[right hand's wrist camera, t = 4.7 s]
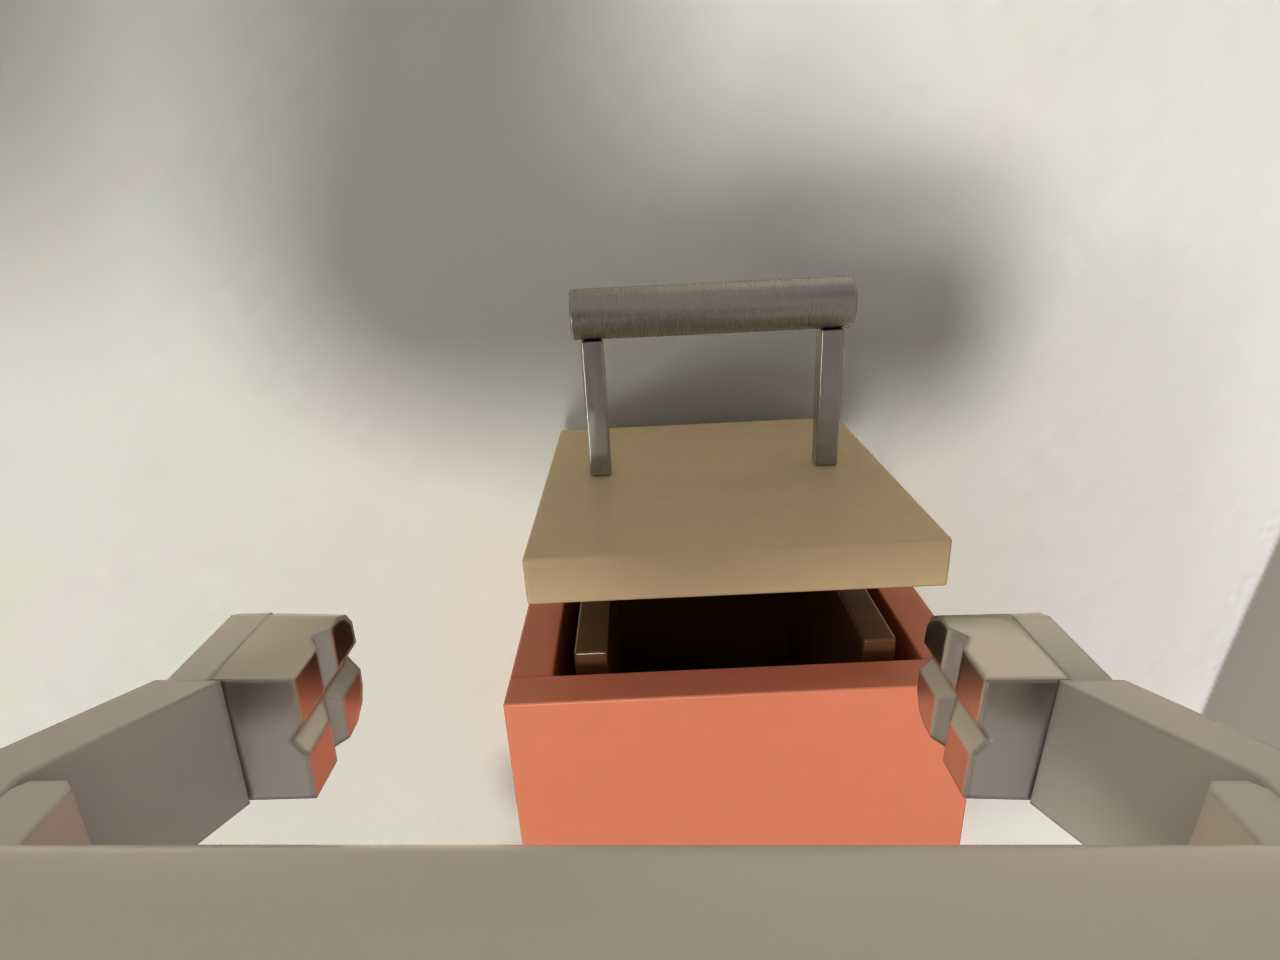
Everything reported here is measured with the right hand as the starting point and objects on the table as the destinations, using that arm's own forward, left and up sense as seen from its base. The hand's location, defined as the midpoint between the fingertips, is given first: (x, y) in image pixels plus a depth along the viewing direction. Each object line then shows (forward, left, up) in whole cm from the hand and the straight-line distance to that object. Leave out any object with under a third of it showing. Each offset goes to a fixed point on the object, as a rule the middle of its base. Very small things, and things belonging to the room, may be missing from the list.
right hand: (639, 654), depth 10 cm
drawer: (+7, -2, -15) cm, 17 cm away
